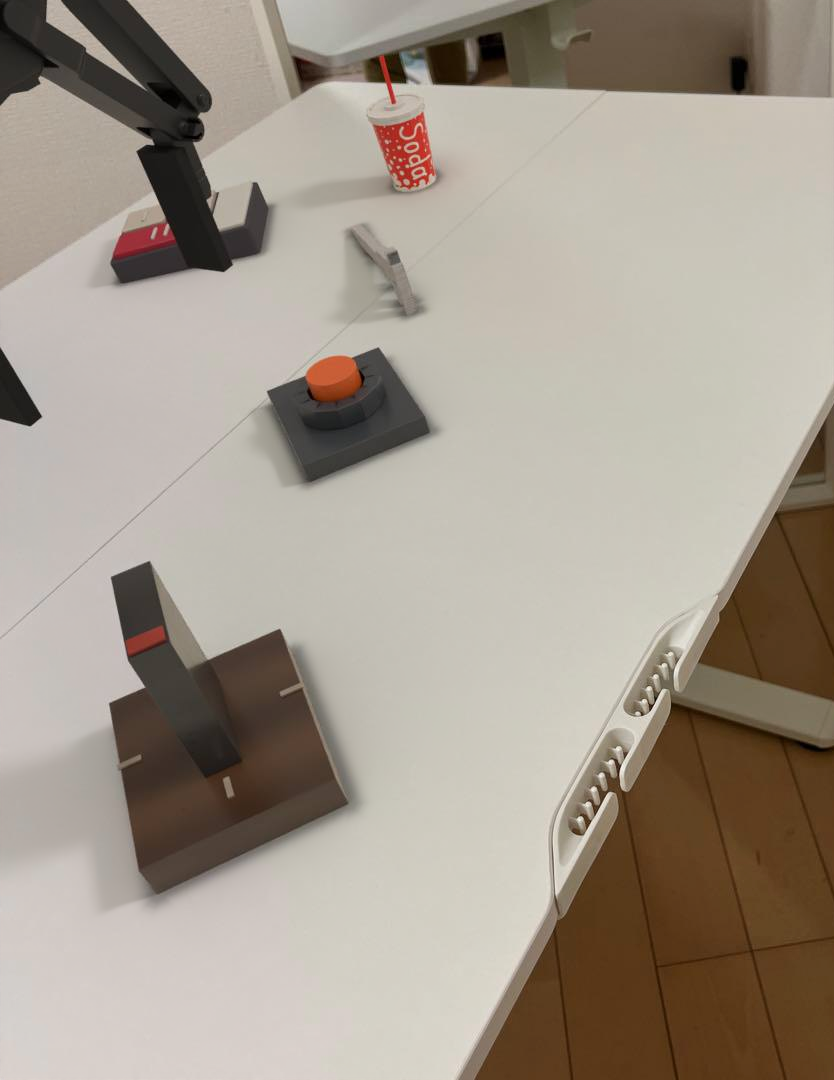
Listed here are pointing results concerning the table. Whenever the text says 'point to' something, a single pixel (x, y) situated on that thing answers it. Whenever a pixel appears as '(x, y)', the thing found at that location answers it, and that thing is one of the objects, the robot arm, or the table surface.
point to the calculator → (156, 250)
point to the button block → (348, 418)
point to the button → (333, 378)
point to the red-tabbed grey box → (174, 668)
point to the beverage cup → (403, 137)
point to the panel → (232, 793)
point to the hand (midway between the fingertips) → (121, 337)
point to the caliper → (388, 267)
